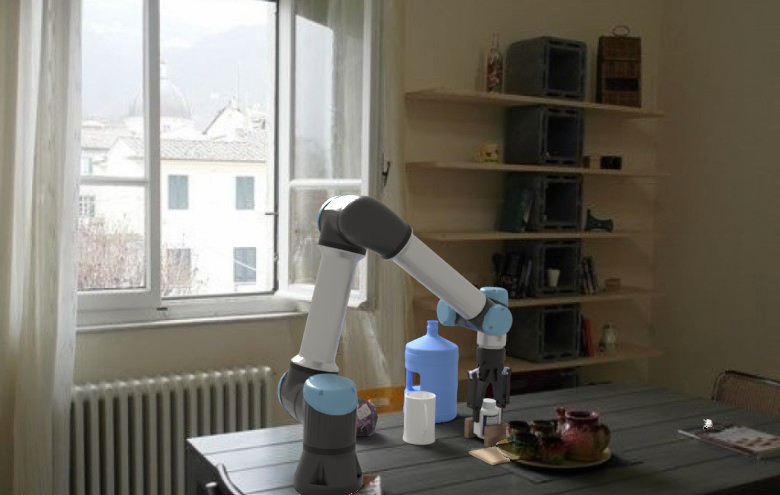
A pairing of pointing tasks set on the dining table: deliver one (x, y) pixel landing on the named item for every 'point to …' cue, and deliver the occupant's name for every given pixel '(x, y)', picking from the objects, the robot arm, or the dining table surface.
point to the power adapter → (708, 423)
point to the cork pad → (489, 455)
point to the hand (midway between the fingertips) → (486, 432)
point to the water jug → (434, 370)
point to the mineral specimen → (365, 418)
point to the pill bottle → (489, 414)
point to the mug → (419, 418)
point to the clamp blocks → (486, 432)
